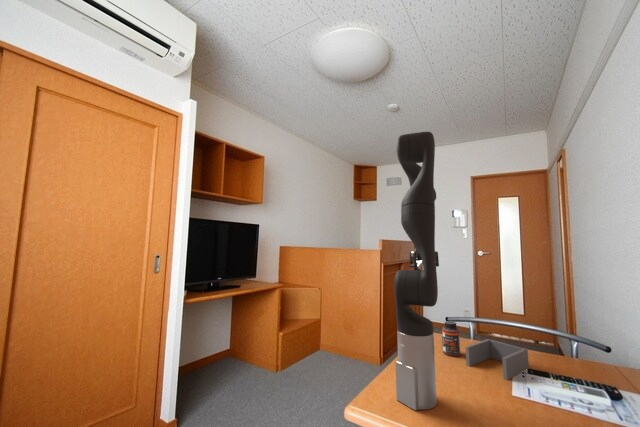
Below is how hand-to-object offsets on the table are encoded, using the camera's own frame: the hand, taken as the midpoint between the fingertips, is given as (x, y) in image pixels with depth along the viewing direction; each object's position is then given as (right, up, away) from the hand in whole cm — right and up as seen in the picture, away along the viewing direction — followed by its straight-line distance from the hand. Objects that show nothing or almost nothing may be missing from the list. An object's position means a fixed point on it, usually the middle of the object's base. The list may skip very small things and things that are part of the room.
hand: (425, 278), depth 111 cm
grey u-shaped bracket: (+18, -26, -17) cm, 35 cm away
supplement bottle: (+8, -27, -5) cm, 29 cm away
